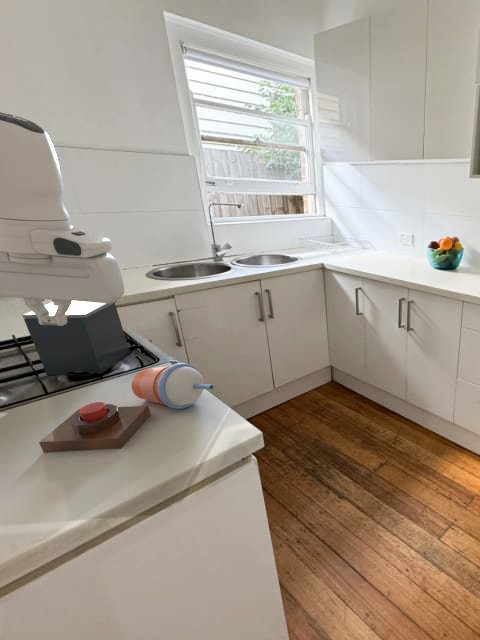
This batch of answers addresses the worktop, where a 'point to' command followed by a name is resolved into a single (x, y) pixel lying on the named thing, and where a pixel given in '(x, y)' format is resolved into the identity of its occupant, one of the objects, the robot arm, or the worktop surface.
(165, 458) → the worktop surface
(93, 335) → the grey bin
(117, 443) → the block
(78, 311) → the box lid
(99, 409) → the button
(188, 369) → the cup with straw
